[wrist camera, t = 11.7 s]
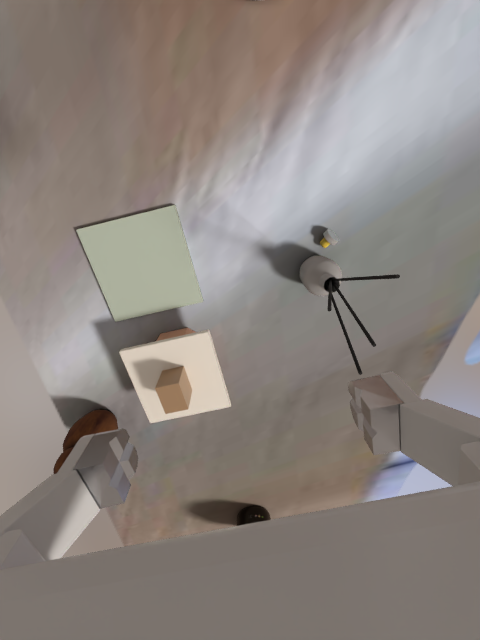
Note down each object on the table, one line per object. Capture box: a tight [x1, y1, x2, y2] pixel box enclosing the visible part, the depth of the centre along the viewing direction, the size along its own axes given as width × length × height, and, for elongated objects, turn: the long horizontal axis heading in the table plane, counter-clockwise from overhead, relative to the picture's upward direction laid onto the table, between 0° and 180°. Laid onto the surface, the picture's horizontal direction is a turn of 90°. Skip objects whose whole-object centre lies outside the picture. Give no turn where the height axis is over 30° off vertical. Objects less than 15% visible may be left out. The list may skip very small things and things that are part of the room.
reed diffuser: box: [300, 229, 400, 375], centre depth 30 cm, size 10×7×20 cm
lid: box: [119, 330, 231, 423], centre depth 38 cm, size 12×12×5 cm
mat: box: [76, 205, 203, 322], centre depth 39 cm, size 13×13×1 cm
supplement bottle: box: [237, 506, 271, 526], centre depth 53 cm, size 7×7×12 cm
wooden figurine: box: [54, 410, 118, 474], centre depth 41 cm, size 7×6×15 cm
